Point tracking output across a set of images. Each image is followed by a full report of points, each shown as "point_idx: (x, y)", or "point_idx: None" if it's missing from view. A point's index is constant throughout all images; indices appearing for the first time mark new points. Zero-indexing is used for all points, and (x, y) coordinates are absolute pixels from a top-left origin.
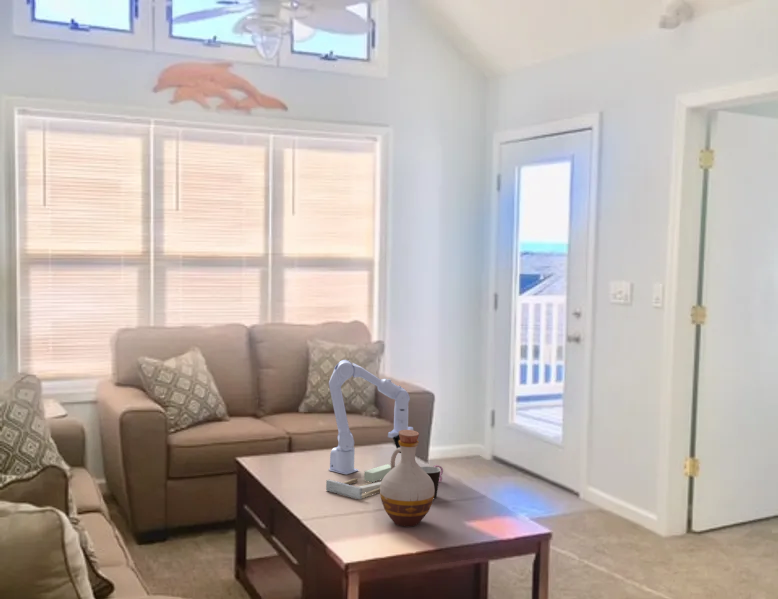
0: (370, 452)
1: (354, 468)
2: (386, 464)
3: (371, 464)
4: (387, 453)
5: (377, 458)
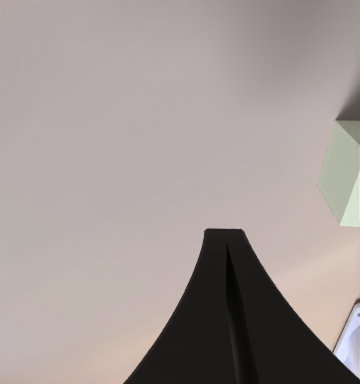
0: (65, 379)
1: (350, 325)
2: (354, 223)
3: None
4: (13, 343)
5: (106, 336)
